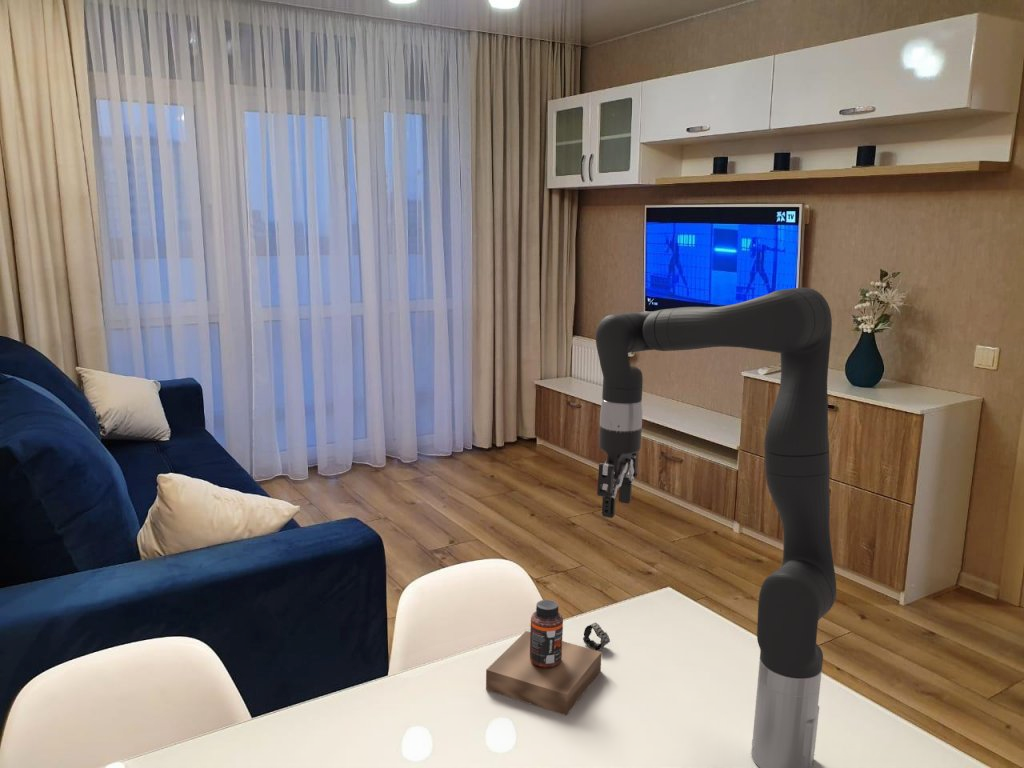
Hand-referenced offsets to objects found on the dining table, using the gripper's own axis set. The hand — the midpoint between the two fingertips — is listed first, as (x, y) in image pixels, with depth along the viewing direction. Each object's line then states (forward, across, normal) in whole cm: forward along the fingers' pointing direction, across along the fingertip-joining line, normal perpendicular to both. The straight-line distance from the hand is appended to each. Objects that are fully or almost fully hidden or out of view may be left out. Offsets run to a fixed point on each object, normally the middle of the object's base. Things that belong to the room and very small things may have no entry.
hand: (616, 509), depth 151 cm
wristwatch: (+32, +6, +5) cm, 33 cm away
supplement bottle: (+28, -10, +9) cm, 31 cm away
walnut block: (+32, -10, +9) cm, 35 cm away
